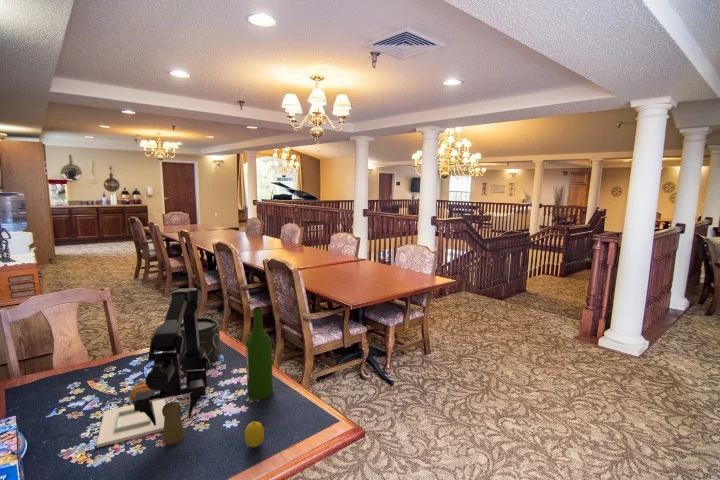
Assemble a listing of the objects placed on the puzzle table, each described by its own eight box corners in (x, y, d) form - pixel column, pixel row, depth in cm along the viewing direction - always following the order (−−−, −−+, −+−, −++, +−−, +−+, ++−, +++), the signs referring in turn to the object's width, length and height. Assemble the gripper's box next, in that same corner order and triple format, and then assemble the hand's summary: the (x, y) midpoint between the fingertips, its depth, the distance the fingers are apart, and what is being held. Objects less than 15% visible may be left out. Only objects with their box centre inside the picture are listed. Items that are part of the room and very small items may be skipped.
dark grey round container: (230, 352, 173) (229, 319, 171) (201, 370, 157) (199, 334, 154) (199, 346, 180) (197, 314, 177) (167, 363, 163) (165, 327, 161)
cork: (176, 445, 113) (173, 411, 111) (157, 442, 114) (155, 408, 112) (189, 432, 119) (186, 399, 117) (171, 429, 120) (169, 397, 118)
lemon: (247, 441, 115) (246, 416, 114) (265, 440, 116) (265, 415, 114) (243, 454, 110) (242, 428, 109) (262, 453, 110) (262, 427, 109)
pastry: (153, 400, 136) (152, 390, 135) (131, 406, 132) (130, 396, 132) (150, 388, 144) (150, 379, 143) (129, 394, 140) (128, 384, 139)
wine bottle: (247, 388, 144) (244, 305, 139) (271, 385, 147) (269, 303, 141) (248, 401, 135) (244, 313, 130) (273, 397, 138) (271, 311, 133)
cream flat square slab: (165, 400, 136) (164, 395, 135) (166, 429, 120) (165, 424, 120) (104, 414, 127) (104, 408, 127) (96, 447, 112) (96, 441, 111)
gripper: (200, 354, 124) (203, 399, 127) (134, 366, 116) (138, 414, 118) (204, 369, 115) (206, 417, 117) (131, 384, 106) (136, 435, 109)
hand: (172, 420), depth 116 cm, fingers open, 9 cm apart
